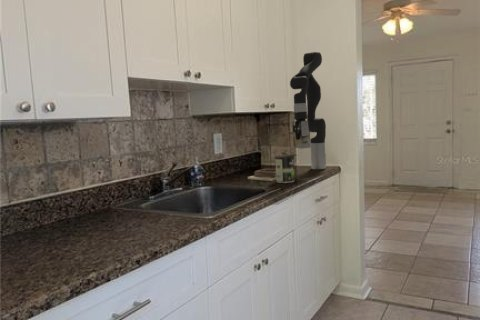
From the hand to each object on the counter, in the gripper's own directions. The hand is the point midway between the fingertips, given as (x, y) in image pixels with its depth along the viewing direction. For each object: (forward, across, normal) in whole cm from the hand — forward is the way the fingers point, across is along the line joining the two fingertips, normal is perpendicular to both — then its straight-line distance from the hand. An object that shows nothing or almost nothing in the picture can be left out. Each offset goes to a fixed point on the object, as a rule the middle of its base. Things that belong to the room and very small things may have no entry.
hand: (301, 139), depth 227 cm
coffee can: (+22, +22, +2) cm, 31 cm away
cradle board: (+22, +14, -14) cm, 29 cm away
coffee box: (+6, 0, 0) cm, 6 cm away
